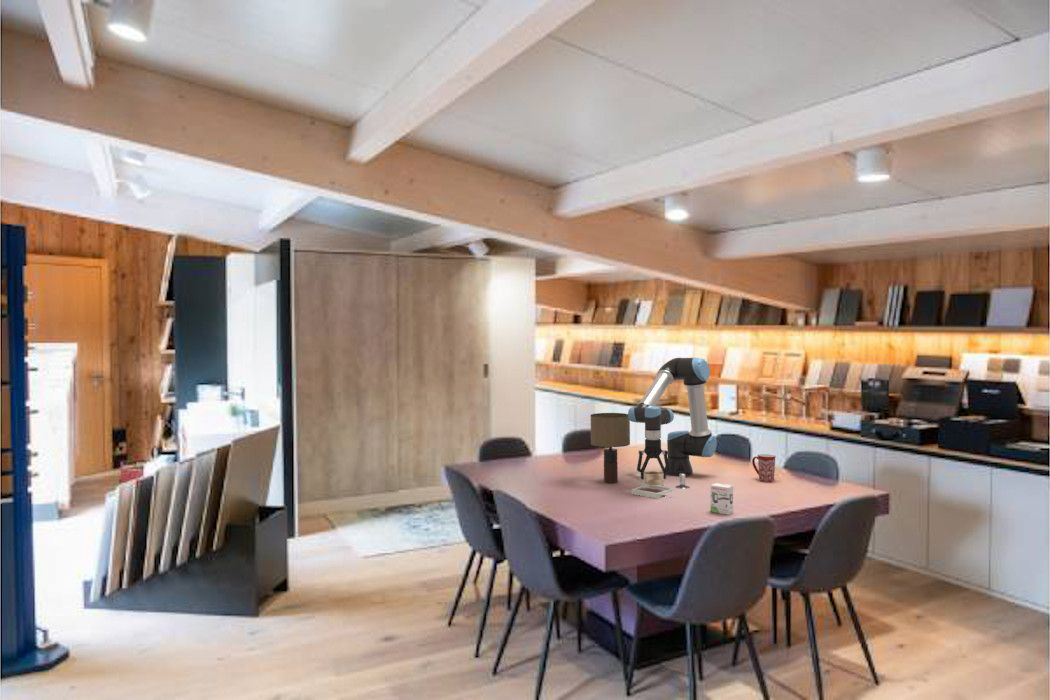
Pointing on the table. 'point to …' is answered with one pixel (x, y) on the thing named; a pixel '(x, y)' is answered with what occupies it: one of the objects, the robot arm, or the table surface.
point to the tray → (651, 494)
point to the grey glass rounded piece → (682, 482)
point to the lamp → (610, 439)
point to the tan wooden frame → (653, 478)
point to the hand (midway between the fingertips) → (653, 485)
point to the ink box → (722, 498)
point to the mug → (765, 467)
